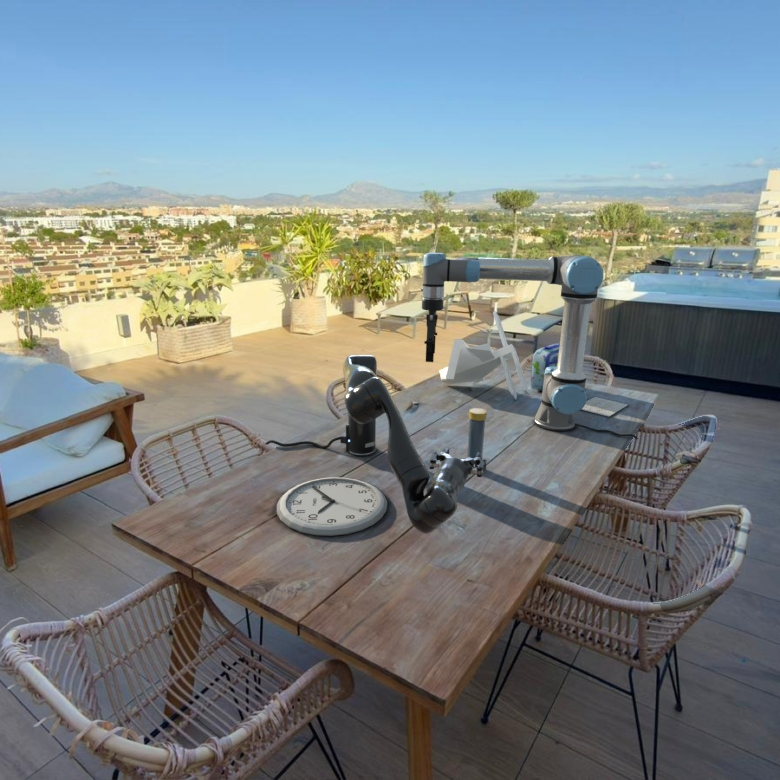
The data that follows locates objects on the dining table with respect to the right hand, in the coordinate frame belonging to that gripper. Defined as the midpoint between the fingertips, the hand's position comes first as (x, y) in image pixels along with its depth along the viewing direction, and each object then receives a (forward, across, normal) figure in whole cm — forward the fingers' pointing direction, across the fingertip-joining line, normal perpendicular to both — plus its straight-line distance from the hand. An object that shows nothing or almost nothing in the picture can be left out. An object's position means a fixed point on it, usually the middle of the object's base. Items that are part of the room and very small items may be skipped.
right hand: (430, 357), depth 190 cm
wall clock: (+28, +61, -23) cm, 71 cm away
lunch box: (+28, -63, +56) cm, 89 cm away
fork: (+28, -25, -8) cm, 39 cm away
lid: (+9, +32, +16) cm, 37 cm away
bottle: (+28, +32, +16) cm, 45 cm away
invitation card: (+28, -38, +73) cm, 87 cm away
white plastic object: (+28, -50, +22) cm, 61 cm away
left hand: (+14, +52, +12) cm, 55 cm away
